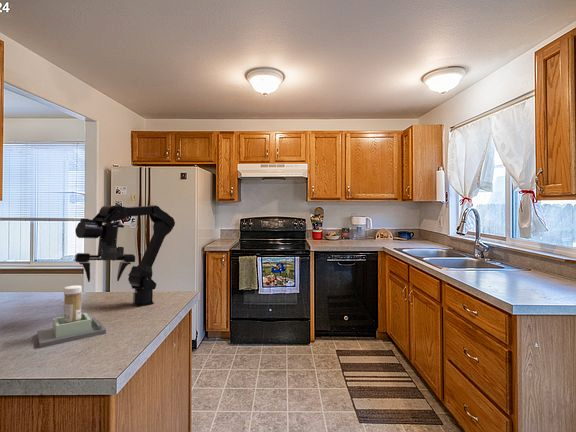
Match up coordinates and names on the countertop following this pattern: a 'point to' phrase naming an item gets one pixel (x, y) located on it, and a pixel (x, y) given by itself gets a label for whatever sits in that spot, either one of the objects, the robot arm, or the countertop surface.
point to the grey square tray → (70, 331)
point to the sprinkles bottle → (72, 304)
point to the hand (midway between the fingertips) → (103, 281)
